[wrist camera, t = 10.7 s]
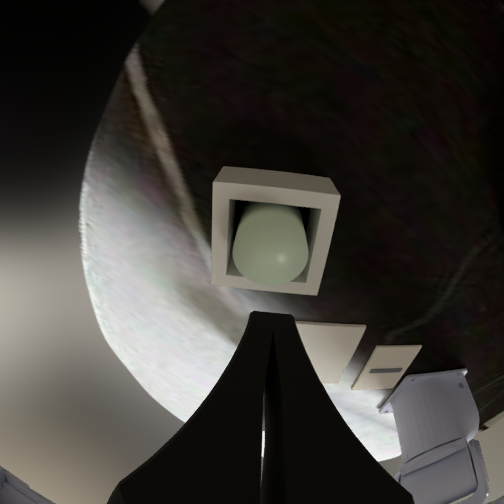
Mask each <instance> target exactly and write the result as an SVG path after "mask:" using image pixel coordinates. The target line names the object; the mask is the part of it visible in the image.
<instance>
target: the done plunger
mask: <svg viewBox="0 0 504 504" xmlns="http://www.w3.org/2000/svg"><path fill="white" fill-rule="evenodd" d="M308 255H309V254H308V245H307V240H306V235H305V230H304V225H303V220H302V216H301V212H300V210H299V208H298V206H293V205H284V204H275V203H266V202H256V201H249V202H248V203H247V204H246V205H245V207H244V209H243V211H242V214H241V218H240V222H239V226H238V230H237V234H236V237H235V241H234V245H233V260H234V263H235V265H236V267H237V269H238V270H239V272H240V273H241V274H242V275H243V276H244V277H246V278H247V279H249V280H250V281H252V282H255V283H257V284H261V285H268V286H274V285H281V284H284V283H287V282H289V281H291V280H293V279H294V278H296V277H297V276H298V275H299V274H300V273H301V272H302V271H303V269H304V268H305V266H306V264H307V261H308Z"/></svg>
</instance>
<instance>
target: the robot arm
mask: <svg viewBox="0 0 504 504" xmlns="http://www.w3.org/2000/svg"><path fill="white" fill-rule="evenodd" d="M466 373H467V369H466V368H464V369H458V370H450V371H442V372H434V373H424V374H413V375H407V376H406V377H405V378H404V379H403V381H402V382H401V383H400V385H399V386H398V387H397V389H396V390H395V391H394V392H393V394H392V395H391V396H390V397H389V399H388V400H387V401H386V402H385V403H384V405H383V406H382V407H381V408H380V409H379V413H380V414H383V413H394V418H395V422H396V427H397V432H398V437H399V442H400V447H401V452H402V458H403V463H404V465H401V466H400V472H399V473H397V474H396V476H395V478H392V476H391V475H390V474H389V473H388V472H387V471H386V470H385V469H383V467H382V466H381V465H380V464H379V463H378V462H377V461H376V460H375V459H374V458H373V456H372V455H371V454H370V453H369V452H368V450H367V449H366V448H365V447H364V446H363V444H362V443H361V442H360V441H359V439H358V438H357V437H356V436H355V435H354V433H353V432H352V430H351V429H350V428H349V426H348V425H347V424H346V422H345V421H344V419H343V418H342V416H341V415H340V413H339V412H338V410H337V409H336V407H335V406H334V404H333V402H332V401H331V399H330V397H329V395H328V394H327V392H326V390H325V388H324V387H323V385H322V383H321V381H320V379H319V377H318V375H317V373H316V371H315V369H314V367H313V365H312V363H311V361H310V358H309V356H308V354H307V352H306V349H305V347H304V345H303V342H302V340H301V337H300V334H299V332H298V329H297V326H296V323H295V319H294V317H293V316H292V315H291V314H280V313H269V312H259V311H253V312H251V313H250V316H249V320H248V324H247V327H246V329H245V332H244V334H243V337H242V339H241V341H240V343H239V345H238V347H237V349H236V351H235V353H234V355H233V357H232V359H231V360H230V362H229V364H228V366H227V367H226V369H225V370H224V372H223V374H222V375H221V377H220V378H219V380H218V382H217V383H216V385H215V386H214V388H213V389H212V390H211V392H210V393H209V395H208V396H207V397H206V399H205V400H204V401H203V402H202V404H201V405H200V406H199V408H198V409H197V410H196V411H195V412H194V414H193V415H192V416H191V417H190V418H189V419H188V421H187V422H186V423H185V424H184V425H183V426H182V427H181V428H180V430H179V431H178V432H177V433H176V434H175V435H174V436H173V437H172V438H171V439H170V440H169V441H168V442H167V443H166V444H164V446H162V447H161V448H160V449H159V450H158V451H157V452H156V453H155V454H154V455H153V456H152V457H151V458H149V459H148V460H147V461H146V462H145V463H143V464H142V465H141V466H139V467H138V468H137V469H136V470H134V471H133V472H132V473H131V474H129V475H128V476H127V477H125V478H124V479H122V480H121V481H120V482H119V483H118V485H117V486H116V488H115V490H114V491H113V492H112V494H111V496H110V498H109V500H108V502H107V504H449V503H451V502H454V501H456V500H458V499H460V498H463V497H465V496H467V495H469V494H471V493H473V492H475V491H476V492H475V493H474V494H473V495H472V496H471V497H469V498H468V499H466V500H464V501H462V502H460V503H457V504H485V502H486V501H487V499H488V495H489V493H490V492H489V487H488V476H487V471H486V467H485V463H484V459H483V455H482V451H481V448H480V444H479V441H477V440H474V439H473V438H474V436H475V435H476V433H477V430H478V427H479V413H478V410H477V407H476V404H475V402H474V399H473V396H472V394H471V391H470V389H469V386H468V384H467V382H466V379H465V377H464V375H465V374H466ZM263 398H264V417H265V448H264V460H263V471H262V481H261V453H262V423H263ZM468 443H469V444H468ZM469 446H470V447H469ZM0 504H55V503H53V502H52V501H50V500H49V499H47V498H45V497H43V496H42V495H40V494H39V493H37V492H35V491H34V490H32V489H31V488H30V487H29V485H27V484H26V483H24V482H23V481H22V480H20V479H19V478H17V477H16V476H15V475H13V474H12V473H10V472H9V471H7V470H6V469H4V468H3V467H1V466H0ZM487 504H504V496H502V497H500V498H498V499H496V500H494V501H492V502H490V503H487Z"/></svg>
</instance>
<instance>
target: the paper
mask: <svg viewBox="0 0 504 504" xmlns="http://www.w3.org/2000/svg"><path fill="white" fill-rule="evenodd" d="M295 323H296V326H297V329H298V332H299V334H300V337H301V340H302V342H303V345H304V347H305V349H306V352H307V354H308V356H309V358H310V361H311V363H312V365H313V367H314V369H315V371H316V373H317V375H318V377H319V379H320V381H321V383H338V382H339V381H340V379H341V377H342V375H343V373H344V371H345V370H346V368H347V366H348V364H349V362H350V360H351V358H352V356H353V354H354V352H355V350H356V348H357V346H358V344H359V342H360V340H361V338H362V335H363V333H364V331H365V329H366V325H358V324H336V323H320V322H305V321H295Z"/></svg>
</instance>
